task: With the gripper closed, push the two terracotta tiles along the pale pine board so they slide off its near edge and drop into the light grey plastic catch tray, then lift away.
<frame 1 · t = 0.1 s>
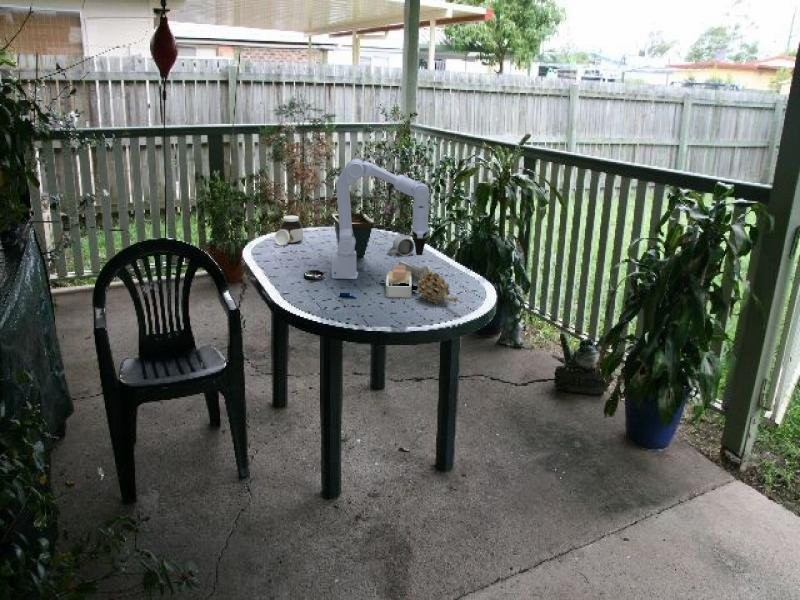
hand: (419, 252, 247), 10 cm above the table, tool pointing down, fingers open, 7 cm apart
wrench: (414, 278, 251), on the table
catch tray: (398, 291, 235), on the table
tile a: (399, 276, 243), point 2 cm above the table, touching board
board: (399, 281, 246), on the table
ceramic mug: (400, 254, 282), on the table
pine cone: (439, 305, 223), on the table
tile b: (399, 272, 247), point 2 cm above the table, touching board
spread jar: (289, 243, 294), on the table
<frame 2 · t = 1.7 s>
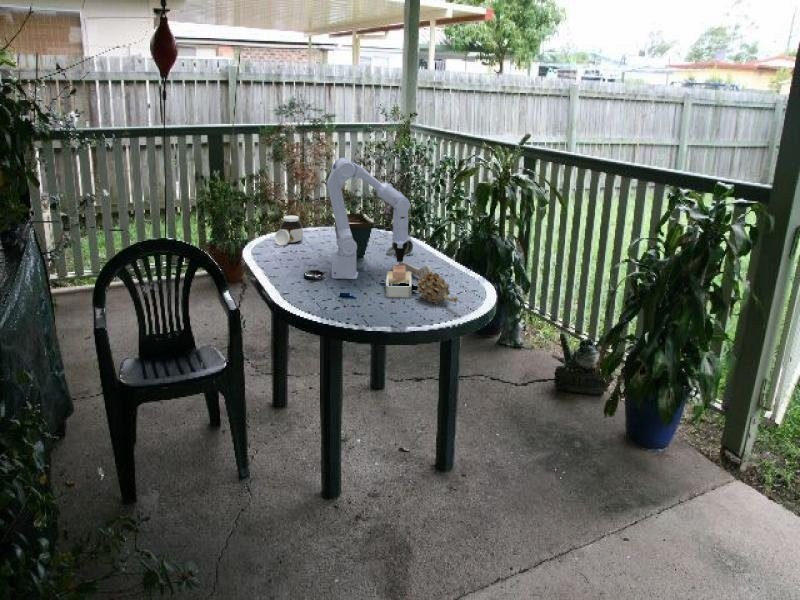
hand: (399, 261, 254), 5 cm above the table, tool pointing down, fingers closed
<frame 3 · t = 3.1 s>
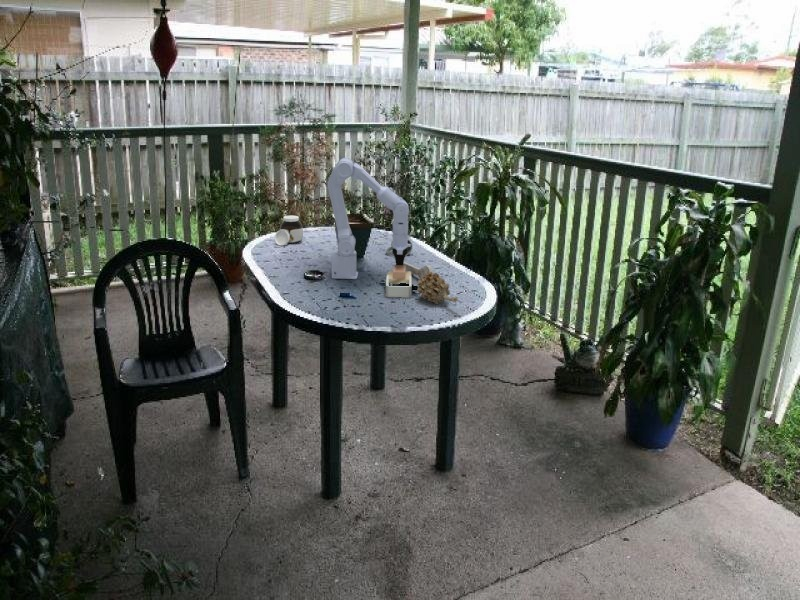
hand: (399, 267, 250), 4 cm above the table, tool pointing down, fingers closed
tile a: (399, 276, 243), point 3 cm above the table, touching tile b
tile b: (399, 273, 247), point 3 cm above the table, touching gripper, tile a
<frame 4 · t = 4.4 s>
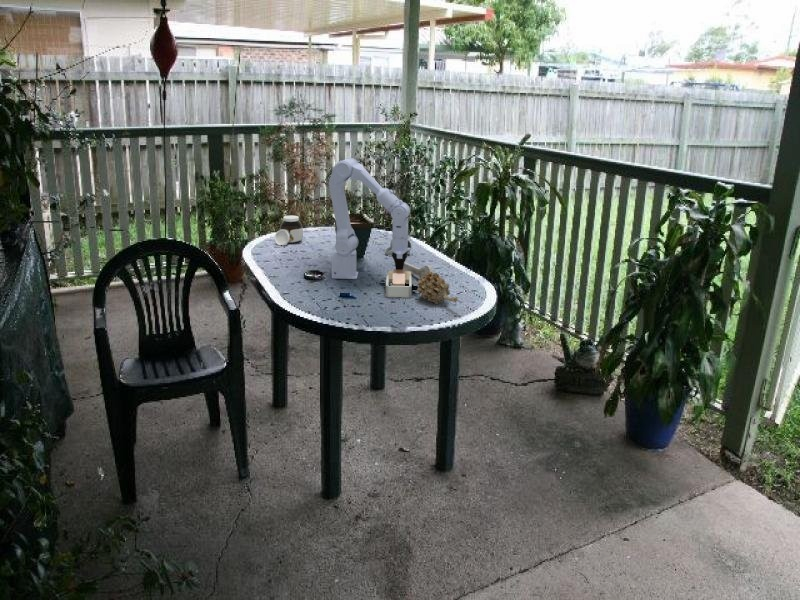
hand: (399, 272, 244), 4 cm above the table, tool pointing down, fingers closed
tile a: (398, 282, 238), point 2 cm above the table, tilted 37°, touching catch tray, tile b
tile b: (399, 277, 242), point 2 cm above the table, touching board, gripper, tile a
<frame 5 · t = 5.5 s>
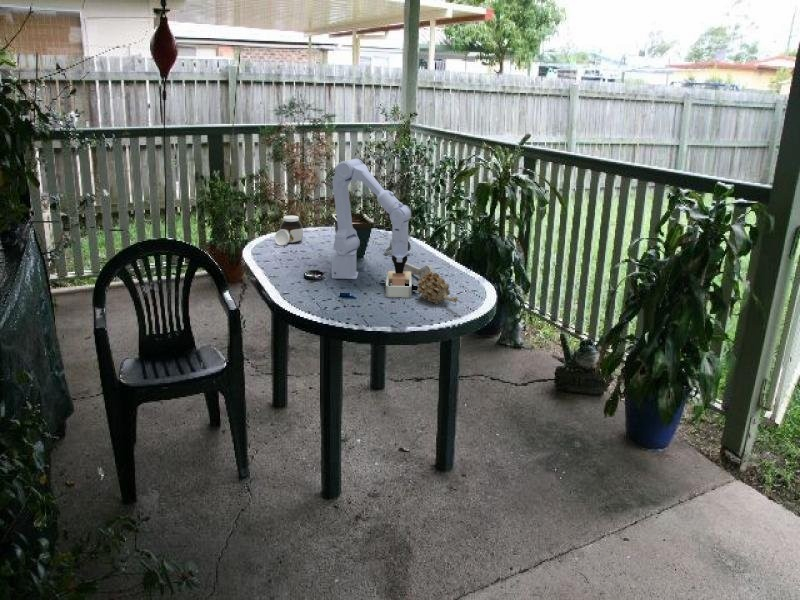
hand: (399, 275, 240), 4 cm above the table, tool pointing down, fingers closed
tile a: (398, 282, 235), point 3 cm above the table, tilted 95°, touching catch tray, tile b
tile b: (398, 282, 239), point 2 cm above the table, tilted 31°, touching gripper, tile a
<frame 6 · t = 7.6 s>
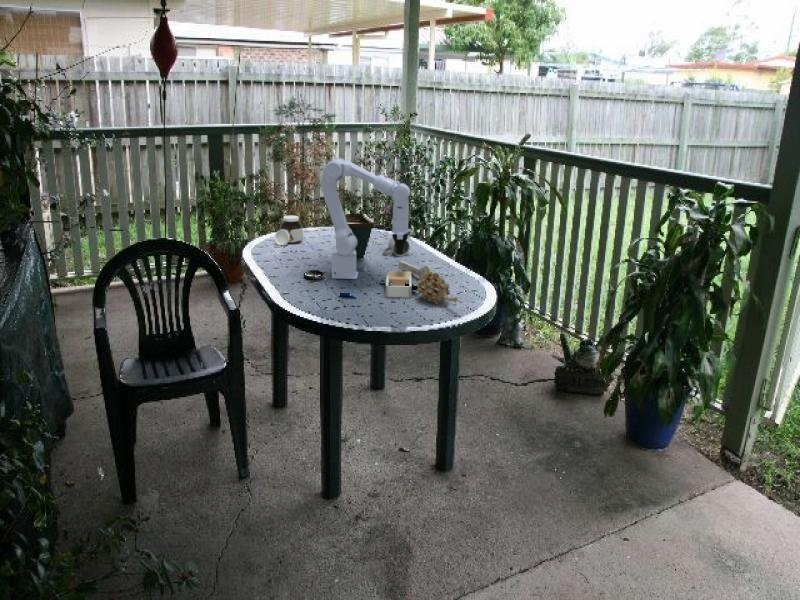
hand: (399, 253, 244), 10 cm above the table, tool pointing down, fingers closed
tile a: (398, 283, 235), point 3 cm above the table, tilted 90°, touching catch tray
tile b: (398, 287, 238), point 1 cm above the table, touching catch tray
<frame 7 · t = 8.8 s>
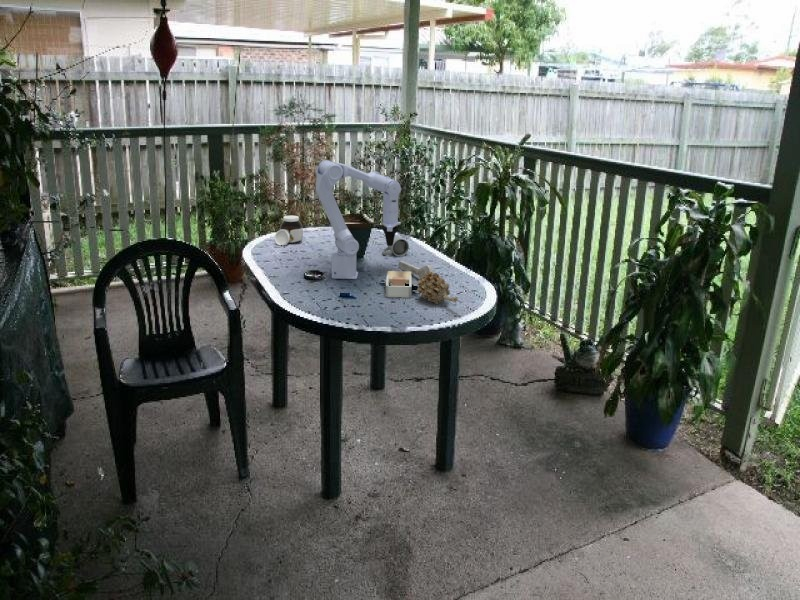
hand: (389, 245, 254), 10 cm above the table, tool pointing down, fingers closed
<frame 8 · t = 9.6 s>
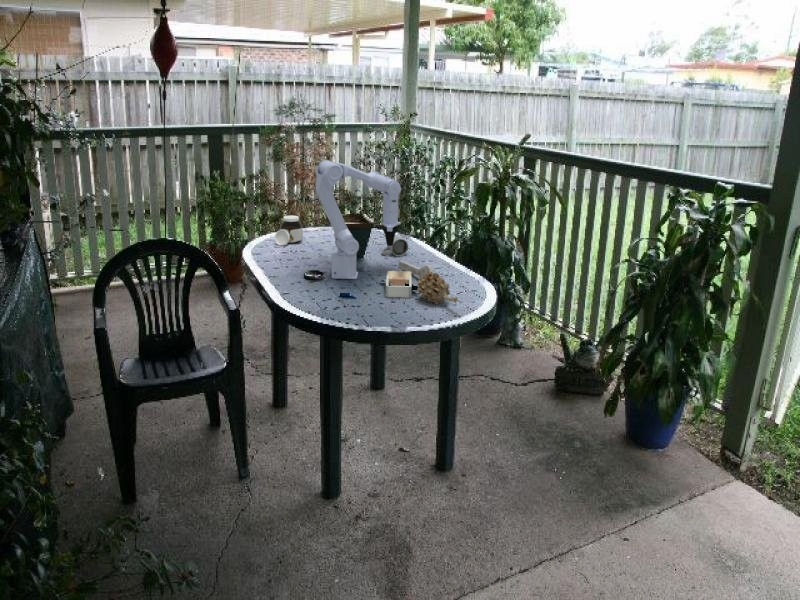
hand: (389, 245, 254), 10 cm above the table, tool pointing down, fingers closed
at the end: tile a inside the target area (1.7 cm from its centre), point 2.8 cm above the table; tile b inside the target area (3.9 cm from its centre), point 0.6 cm above the table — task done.
